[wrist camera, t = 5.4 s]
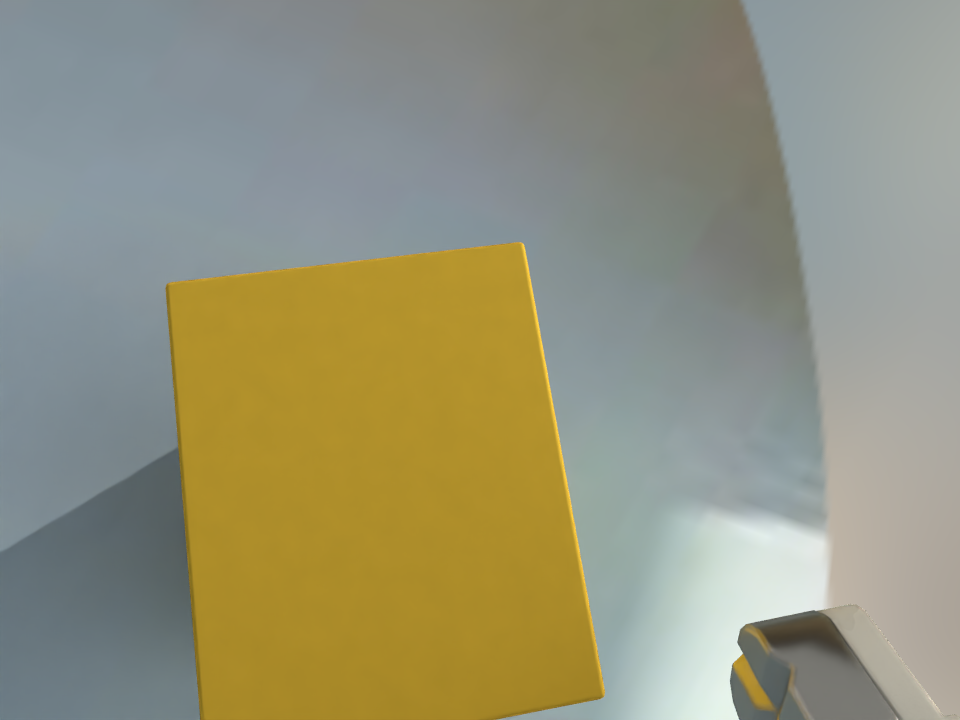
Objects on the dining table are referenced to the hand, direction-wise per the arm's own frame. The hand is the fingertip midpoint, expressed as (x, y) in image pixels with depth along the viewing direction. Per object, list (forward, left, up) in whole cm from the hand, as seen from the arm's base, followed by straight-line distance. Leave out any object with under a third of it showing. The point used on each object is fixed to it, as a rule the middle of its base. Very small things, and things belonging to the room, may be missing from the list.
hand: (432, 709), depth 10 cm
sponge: (+1, -3, -8) cm, 8 cm away
